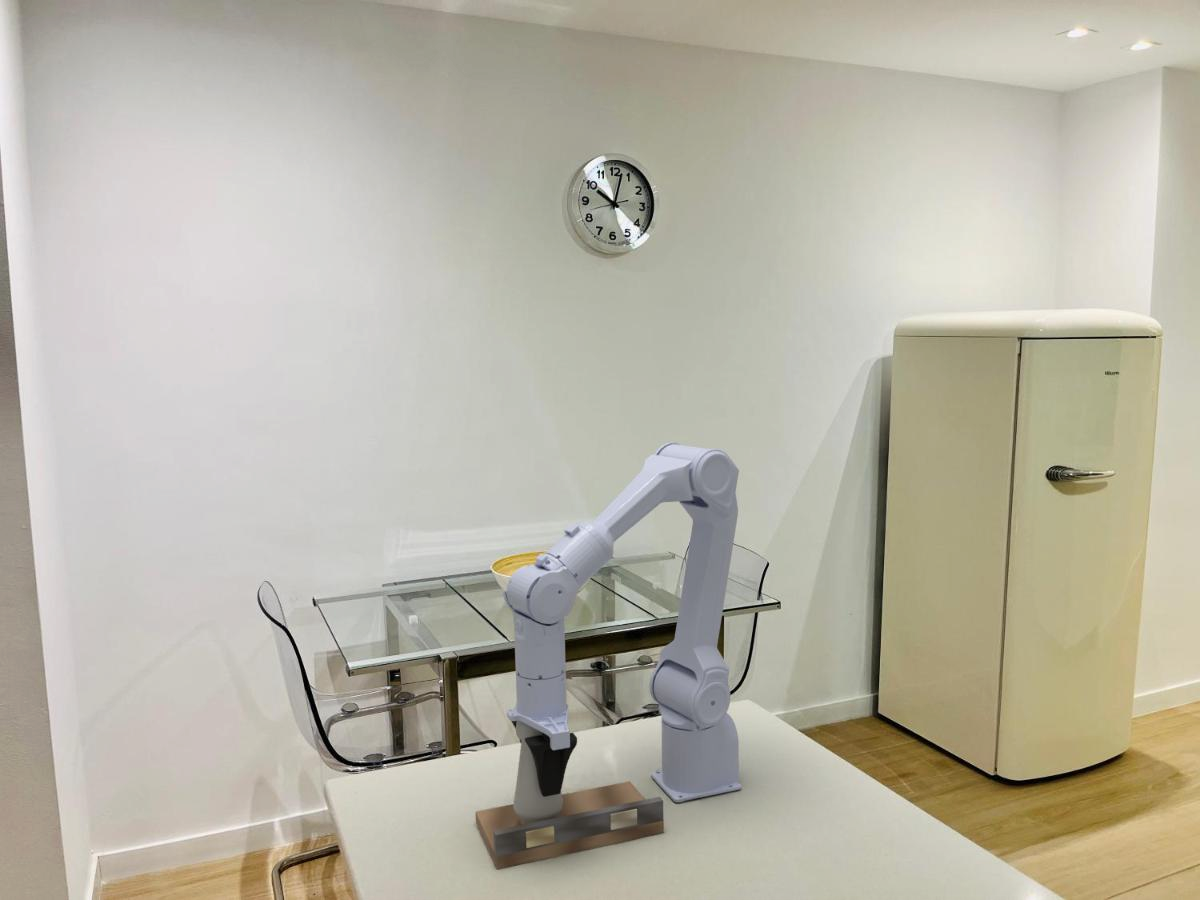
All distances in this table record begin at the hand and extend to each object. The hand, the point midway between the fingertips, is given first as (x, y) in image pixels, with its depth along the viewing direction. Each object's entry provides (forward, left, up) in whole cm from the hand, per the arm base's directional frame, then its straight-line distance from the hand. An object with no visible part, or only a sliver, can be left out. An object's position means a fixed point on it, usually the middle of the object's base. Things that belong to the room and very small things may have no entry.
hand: (544, 783), depth 108 cm
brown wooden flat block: (-3, 0, -6) cm, 7 cm away
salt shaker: (+1, 0, -5) cm, 5 cm away
